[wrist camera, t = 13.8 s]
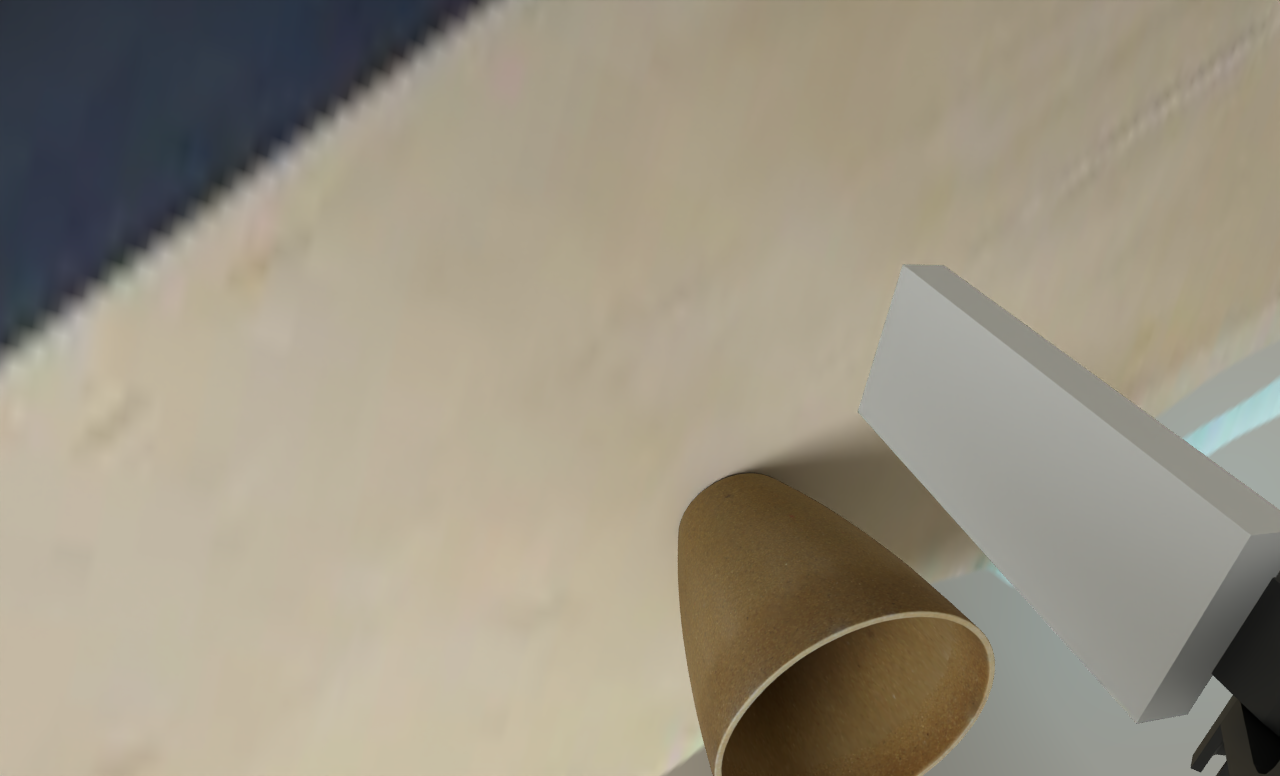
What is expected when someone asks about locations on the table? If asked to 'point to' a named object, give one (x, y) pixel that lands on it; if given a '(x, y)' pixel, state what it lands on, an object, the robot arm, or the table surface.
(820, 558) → the plant pot
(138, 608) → the table surface
